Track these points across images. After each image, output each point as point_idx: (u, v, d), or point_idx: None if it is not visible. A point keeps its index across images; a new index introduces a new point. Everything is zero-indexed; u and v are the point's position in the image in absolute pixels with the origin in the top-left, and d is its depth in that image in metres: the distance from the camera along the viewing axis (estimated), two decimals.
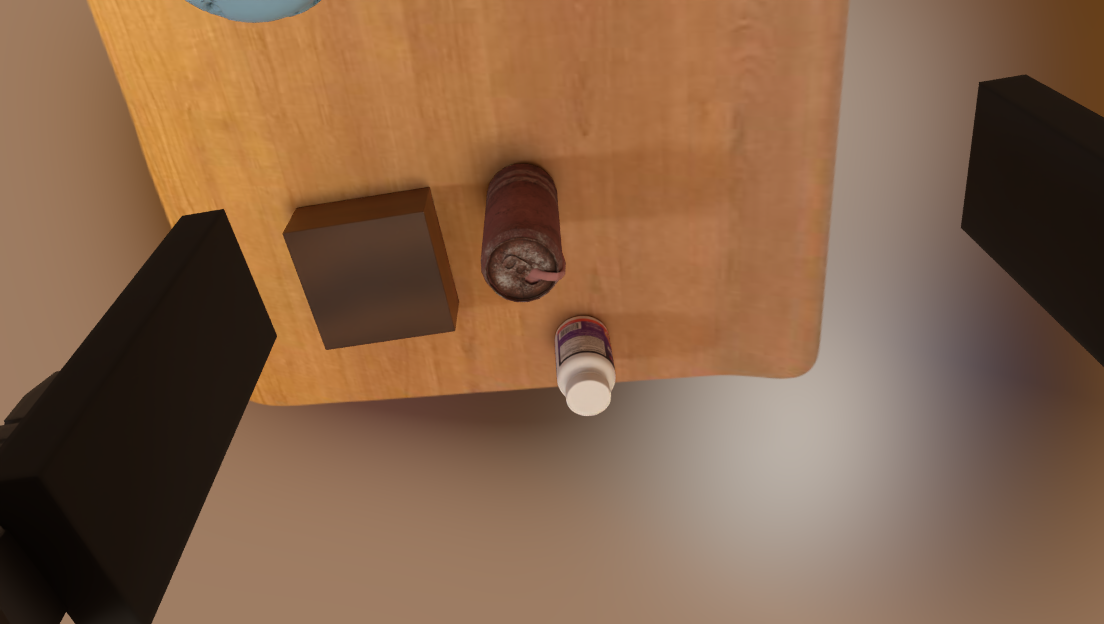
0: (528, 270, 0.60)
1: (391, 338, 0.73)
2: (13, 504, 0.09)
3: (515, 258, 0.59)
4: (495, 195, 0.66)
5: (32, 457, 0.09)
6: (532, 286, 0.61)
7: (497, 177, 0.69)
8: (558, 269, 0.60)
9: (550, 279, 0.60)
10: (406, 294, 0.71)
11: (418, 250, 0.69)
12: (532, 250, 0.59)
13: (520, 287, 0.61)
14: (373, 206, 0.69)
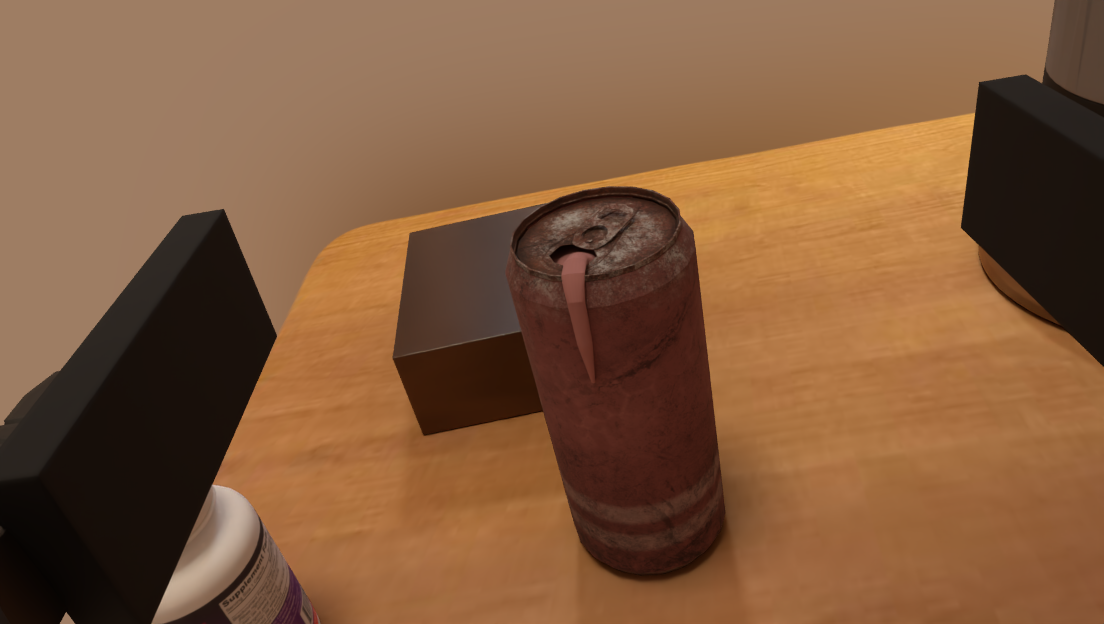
0: (591, 246, 0.25)
1: (406, 289, 0.42)
2: (13, 504, 0.09)
3: (625, 220, 0.26)
4: None
5: (32, 457, 0.09)
6: (546, 255, 0.25)
7: None
8: (590, 283, 0.23)
9: (567, 264, 0.24)
10: (485, 298, 0.40)
11: None
12: (644, 243, 0.25)
13: (546, 241, 0.26)
14: None
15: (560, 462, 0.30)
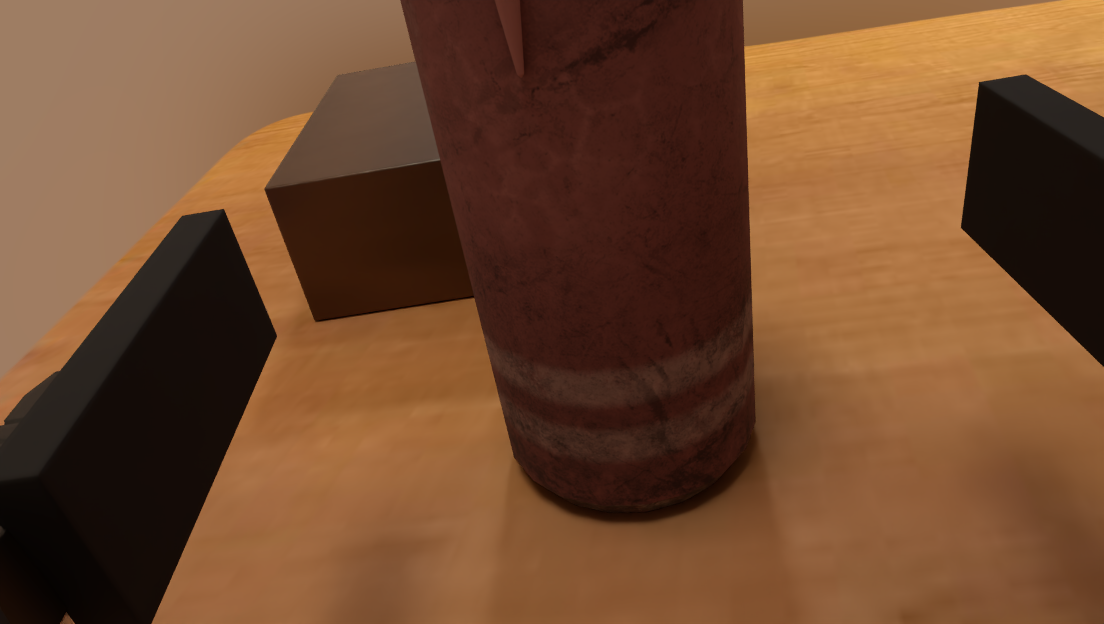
0: None
1: (311, 122, 0.30)
2: (12, 504, 0.09)
3: None
4: None
5: (31, 457, 0.09)
6: None
7: None
8: None
9: None
10: (416, 127, 0.28)
11: None
12: None
13: None
14: None
15: (476, 297, 0.17)
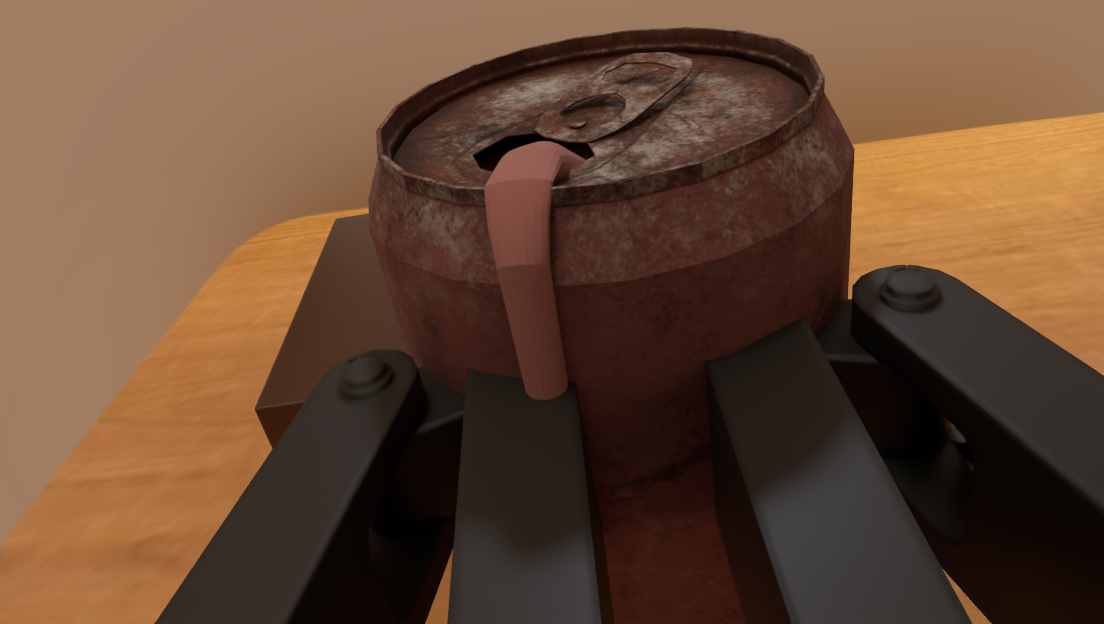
0: (583, 136, 0.10)
1: (308, 297, 0.27)
2: None
3: (672, 83, 0.10)
4: None
5: None
6: (465, 155, 0.10)
7: None
8: (568, 213, 0.08)
9: (508, 160, 0.08)
10: None
11: None
12: (723, 127, 0.09)
13: (474, 129, 0.11)
14: None
15: None
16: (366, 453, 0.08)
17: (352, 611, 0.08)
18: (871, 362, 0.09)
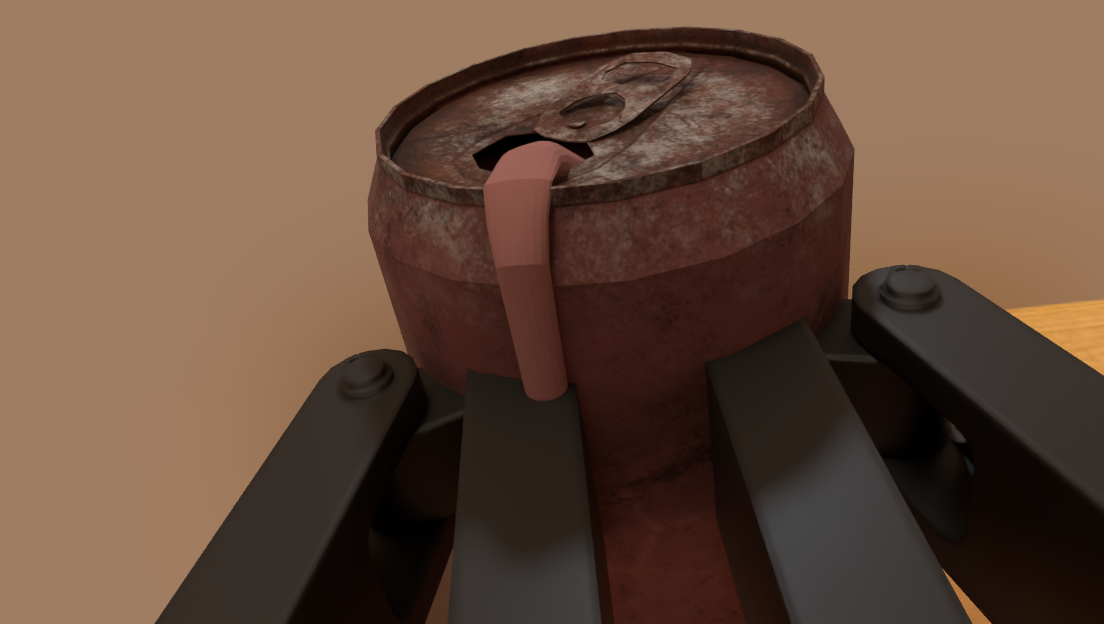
0: (582, 135, 0.10)
1: None
2: None
3: (672, 82, 0.10)
4: None
5: None
6: (465, 154, 0.10)
7: None
8: (568, 213, 0.08)
9: (507, 159, 0.08)
10: None
11: None
12: (723, 127, 0.09)
13: (473, 129, 0.11)
14: None
15: None
16: (366, 453, 0.08)
17: (352, 611, 0.08)
18: (871, 361, 0.09)
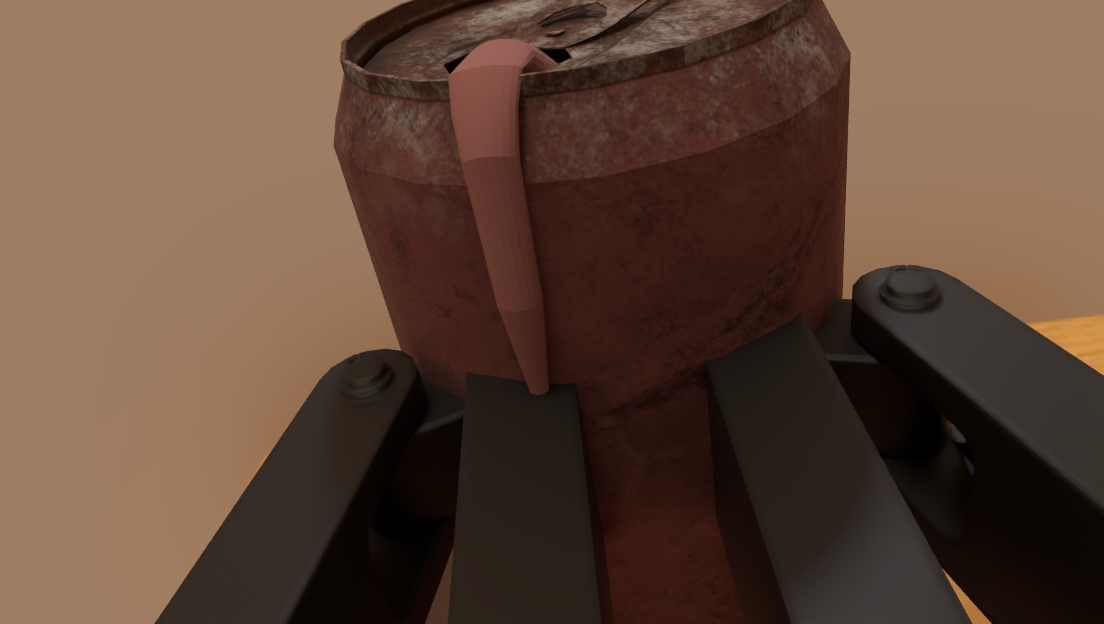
0: (561, 42, 0.09)
1: None
2: None
3: None
4: None
5: None
6: (436, 64, 0.09)
7: None
8: (539, 103, 0.07)
9: (476, 52, 0.08)
10: None
11: None
12: (709, 27, 0.09)
13: (447, 44, 0.10)
14: None
15: None
16: (366, 453, 0.08)
17: (352, 611, 0.08)
18: (871, 362, 0.09)
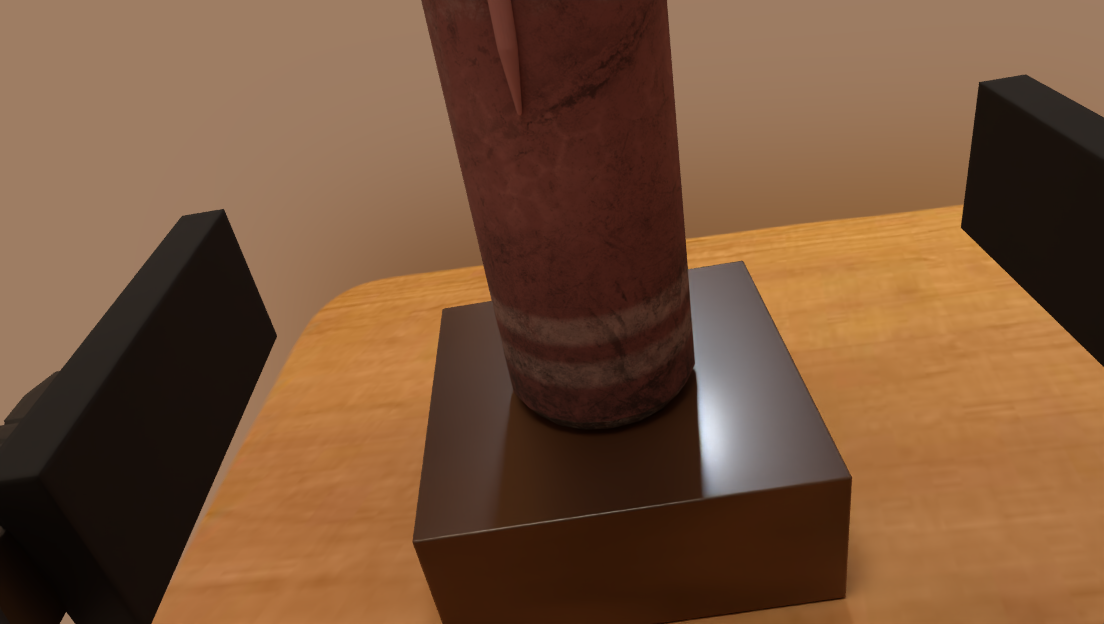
0: None
1: (436, 405, 0.27)
2: (13, 504, 0.09)
3: None
4: None
5: (32, 457, 0.09)
6: None
7: None
8: None
9: None
10: (566, 436, 0.25)
11: (714, 463, 0.23)
12: None
13: None
14: None
15: (487, 268, 0.23)
16: None
17: None
18: None
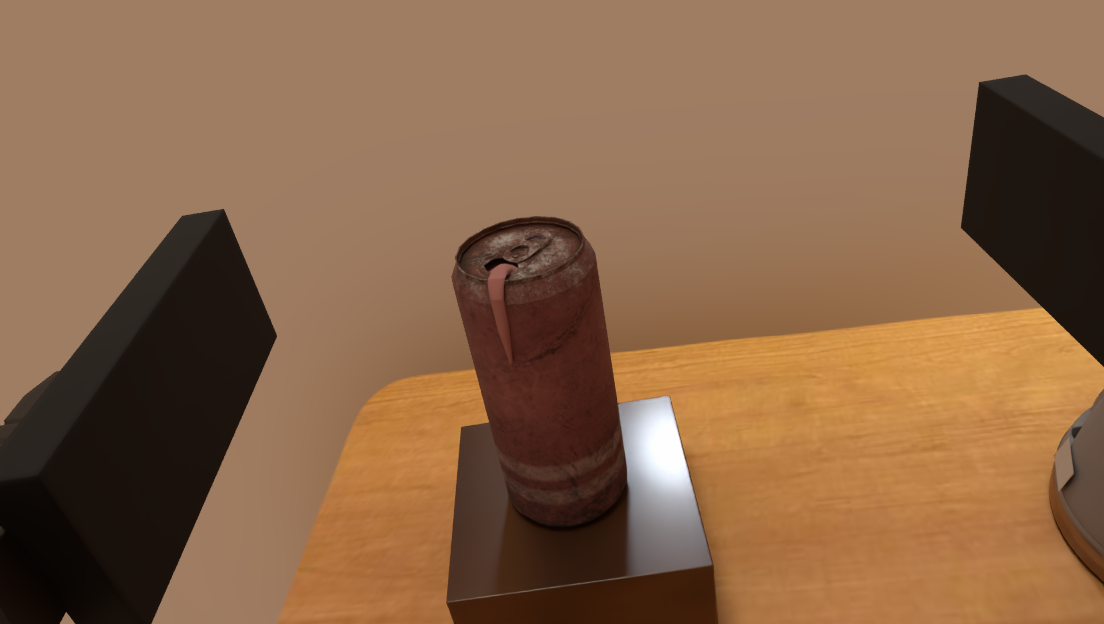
0: (516, 260, 0.33)
1: (459, 505, 0.41)
2: (13, 504, 0.09)
3: (544, 242, 0.34)
4: None
5: (32, 457, 0.09)
6: (481, 265, 0.33)
7: None
8: (508, 286, 0.32)
9: (493, 271, 0.32)
10: (542, 531, 0.39)
11: (632, 553, 0.37)
12: (554, 259, 0.33)
13: (484, 255, 0.34)
14: None
15: (492, 430, 0.37)
16: None
17: None
18: None
